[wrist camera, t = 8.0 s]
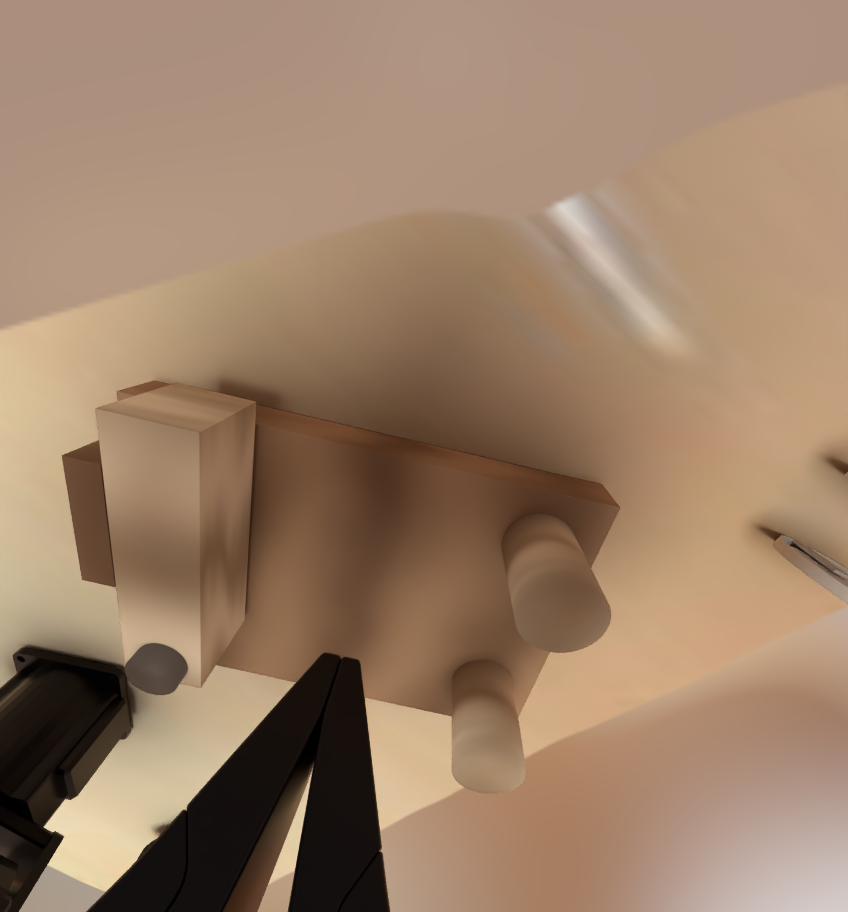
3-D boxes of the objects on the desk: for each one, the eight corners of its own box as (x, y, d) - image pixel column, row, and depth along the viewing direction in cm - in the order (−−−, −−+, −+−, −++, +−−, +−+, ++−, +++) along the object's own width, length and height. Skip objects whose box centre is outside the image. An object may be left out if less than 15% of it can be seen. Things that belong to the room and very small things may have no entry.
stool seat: (167, 619, 22) (72, 726, 17) (153, 380, 17) (5, 423, 11) (507, 694, 23) (524, 823, 17) (602, 484, 17) (672, 575, 12)
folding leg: (244, 619, 19) (191, 702, 15) (182, 606, 19) (113, 685, 15) (256, 401, 14) (186, 439, 11) (176, 382, 14) (76, 414, 11)
